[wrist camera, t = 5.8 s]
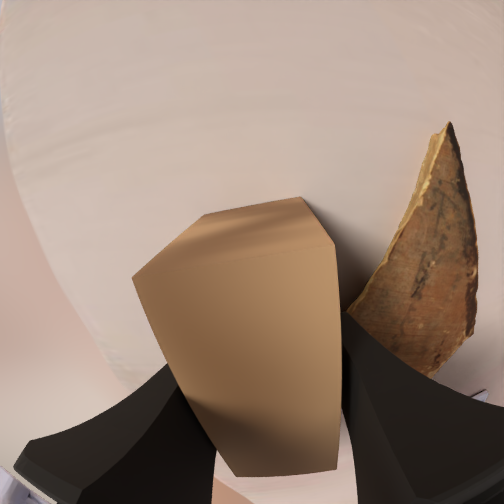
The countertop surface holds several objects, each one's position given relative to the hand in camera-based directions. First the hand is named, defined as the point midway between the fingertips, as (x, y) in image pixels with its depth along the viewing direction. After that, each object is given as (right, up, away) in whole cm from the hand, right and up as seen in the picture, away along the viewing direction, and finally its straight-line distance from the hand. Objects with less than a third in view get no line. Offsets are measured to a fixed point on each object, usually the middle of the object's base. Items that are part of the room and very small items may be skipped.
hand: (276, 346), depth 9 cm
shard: (+5, +2, +2) cm, 6 cm away
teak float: (0, +1, +2) cm, 2 cm away
